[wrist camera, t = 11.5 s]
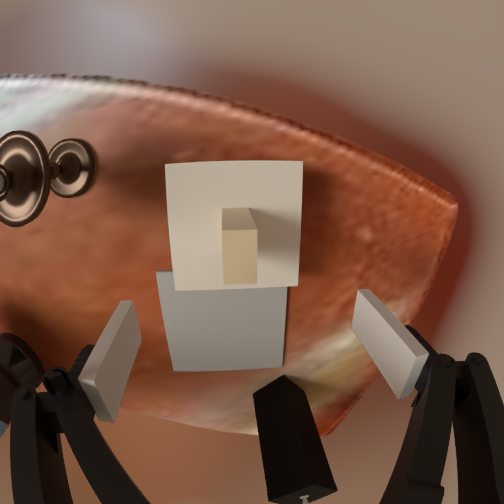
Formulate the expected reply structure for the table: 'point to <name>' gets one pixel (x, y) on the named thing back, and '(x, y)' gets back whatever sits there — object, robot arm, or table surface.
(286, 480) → the black block
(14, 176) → the candlestick
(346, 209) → the table surface
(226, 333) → the mat
